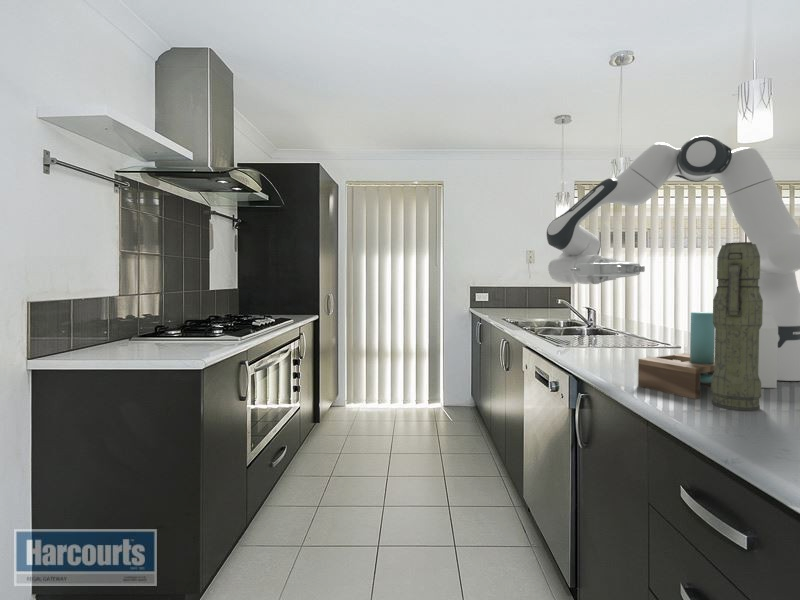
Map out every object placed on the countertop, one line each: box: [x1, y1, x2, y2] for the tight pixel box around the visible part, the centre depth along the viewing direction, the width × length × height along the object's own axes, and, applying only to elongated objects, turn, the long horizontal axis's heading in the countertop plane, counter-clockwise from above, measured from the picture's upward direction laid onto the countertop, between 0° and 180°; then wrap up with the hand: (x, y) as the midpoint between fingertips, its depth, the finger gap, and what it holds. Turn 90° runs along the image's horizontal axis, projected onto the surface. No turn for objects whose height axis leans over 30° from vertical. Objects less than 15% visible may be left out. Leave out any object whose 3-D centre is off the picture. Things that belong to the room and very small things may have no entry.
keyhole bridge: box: [637, 352, 715, 400], centre depth 123 cm, size 18×15×7 cm
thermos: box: [710, 241, 763, 412], centre depth 106 cm, size 9×12×35 cm
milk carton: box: [758, 311, 778, 389], centre depth 125 cm, size 7×7×19 cm
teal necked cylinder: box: [689, 311, 715, 384], centre depth 120 cm, size 6×6×16 cm
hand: (631, 268), depth 137 cm, fingers open, 8 cm apart
